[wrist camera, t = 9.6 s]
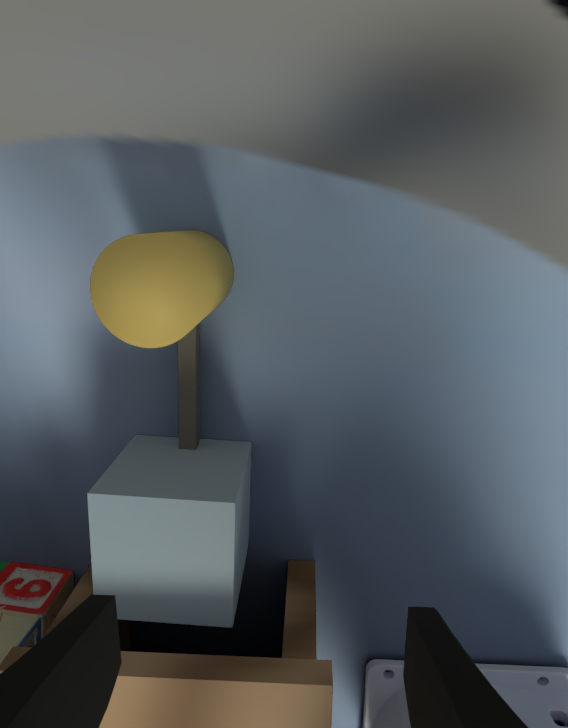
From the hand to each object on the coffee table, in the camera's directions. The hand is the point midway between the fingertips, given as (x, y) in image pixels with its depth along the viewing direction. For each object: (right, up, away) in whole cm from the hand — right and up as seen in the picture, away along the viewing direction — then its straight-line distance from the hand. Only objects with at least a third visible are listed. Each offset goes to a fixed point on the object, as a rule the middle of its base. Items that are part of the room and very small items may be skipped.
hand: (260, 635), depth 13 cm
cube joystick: (-3, +5, +9) cm, 11 cm away
